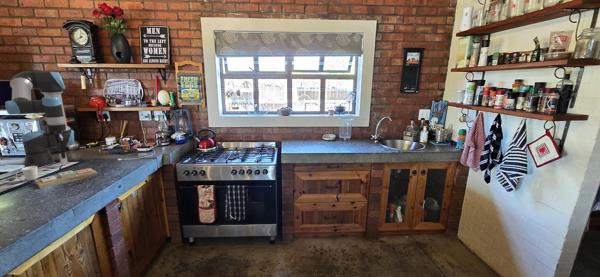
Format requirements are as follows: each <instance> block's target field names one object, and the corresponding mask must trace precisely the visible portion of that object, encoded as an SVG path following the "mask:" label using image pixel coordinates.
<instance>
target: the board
mask: <svg viewBox="0 0 600 277" xmlns="http://www.w3.org/2000/svg"><path fill="white" fill-rule="evenodd" d="M84 169H85V168H82V169H79V170H74V171H73V170H72V171H73V172H74V173H75V176H71V177H66V178H62V179H61V178H60V177H59V174H55V175H50V176H49V177H52V176H55V177H56V178H57V180H53V181H49V182H44V183H42V182H41V181H40V179H43V178H47V177H48V176H45V177H42V178H37V179H34V180H33V182H34V184H35V185H36V186H37V187H38V188H39V189H40V190H41V189H45V188H49V187H53V186H57V185H62V184H65V183H71V182H74V181H79V180H82V179H87V178H90V177H96V176H98V175H99V174H98V171H96V169H93V168H91V167H87V168H86V169H89V170H91V172H88V173H84V174H80V175H79V174H77V173H76V171H80V170H84Z"/></svg>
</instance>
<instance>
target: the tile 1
mask: <svg viewBox="0 0 600 277" xmlns="http://www.w3.org/2000/svg"><path fill="white" fill-rule="evenodd" d="M51 176H52V177H50V176H46V177H47V178H45V177H42V178H43V179H41V178H39V179H40V181H41V182H42V183H44V182H49V181H53V180H57V178H56V177H55V176H54V175H51Z"/></svg>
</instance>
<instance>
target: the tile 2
mask: <svg viewBox="0 0 600 277" xmlns="http://www.w3.org/2000/svg"><path fill="white" fill-rule="evenodd" d="M57 175H59V177H60V178H61V179H62V178H66V177H71V176H75V173H74V172H73V170H68V171H67V170H66V171H63V172H62V171H61V172H58V174H57Z"/></svg>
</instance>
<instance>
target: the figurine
mask: <svg viewBox="0 0 600 277" xmlns="http://www.w3.org/2000/svg"><path fill="white" fill-rule="evenodd" d="M120 145H121V146H122V149H121V150H118V154H120V155H122V156H123V155H129V154H135V153H137V150H136V149H134V148H131V145H130V142H129V140H128V139H126V138H123V139H122V140H121V142H120Z"/></svg>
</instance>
